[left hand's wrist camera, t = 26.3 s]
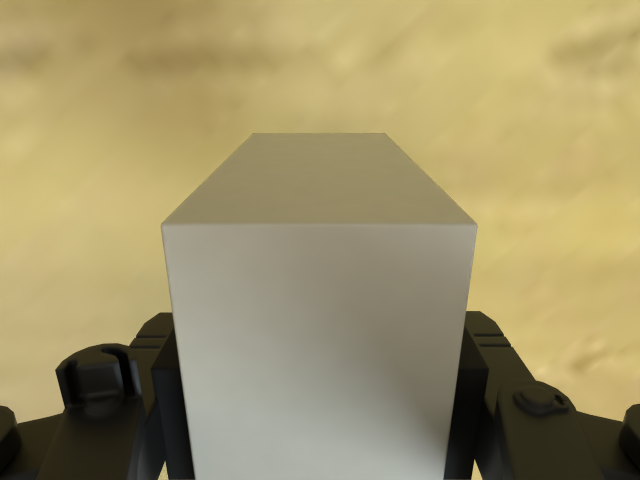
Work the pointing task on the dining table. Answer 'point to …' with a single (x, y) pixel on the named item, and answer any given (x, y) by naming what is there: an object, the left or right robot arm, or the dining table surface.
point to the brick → (319, 311)
